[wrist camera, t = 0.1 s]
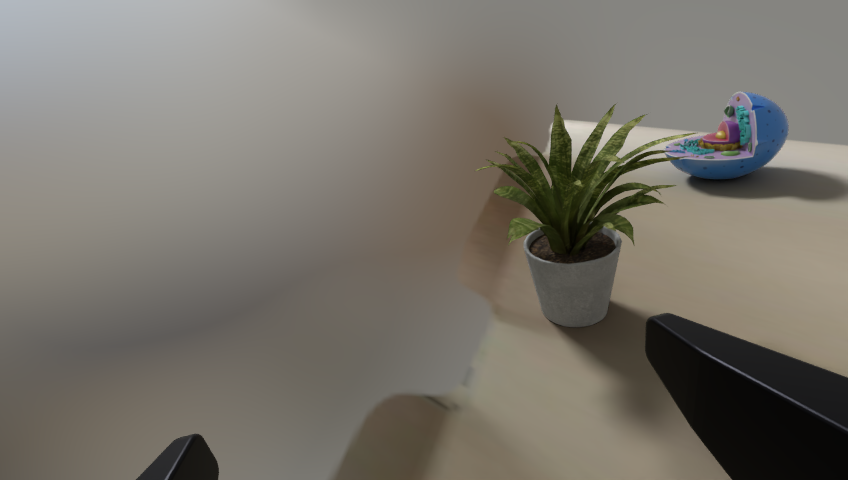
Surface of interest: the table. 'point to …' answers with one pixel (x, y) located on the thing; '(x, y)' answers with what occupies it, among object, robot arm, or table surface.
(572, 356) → the table surface
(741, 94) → the cell model
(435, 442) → the table surface
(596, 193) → the house plant
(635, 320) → the table surface
